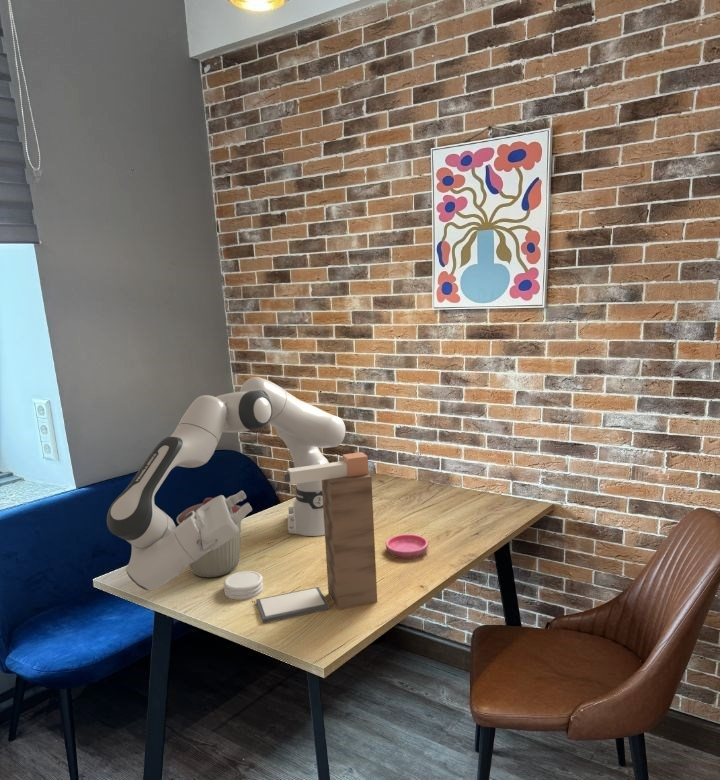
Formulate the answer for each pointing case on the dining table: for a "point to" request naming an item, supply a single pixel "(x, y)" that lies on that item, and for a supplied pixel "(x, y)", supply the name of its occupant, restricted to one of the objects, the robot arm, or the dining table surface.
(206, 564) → the canister
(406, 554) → the saucer
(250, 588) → the coaster
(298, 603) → the writing board
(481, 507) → the dining table surface
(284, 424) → the robot arm
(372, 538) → the walnut stand
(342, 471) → the marker
